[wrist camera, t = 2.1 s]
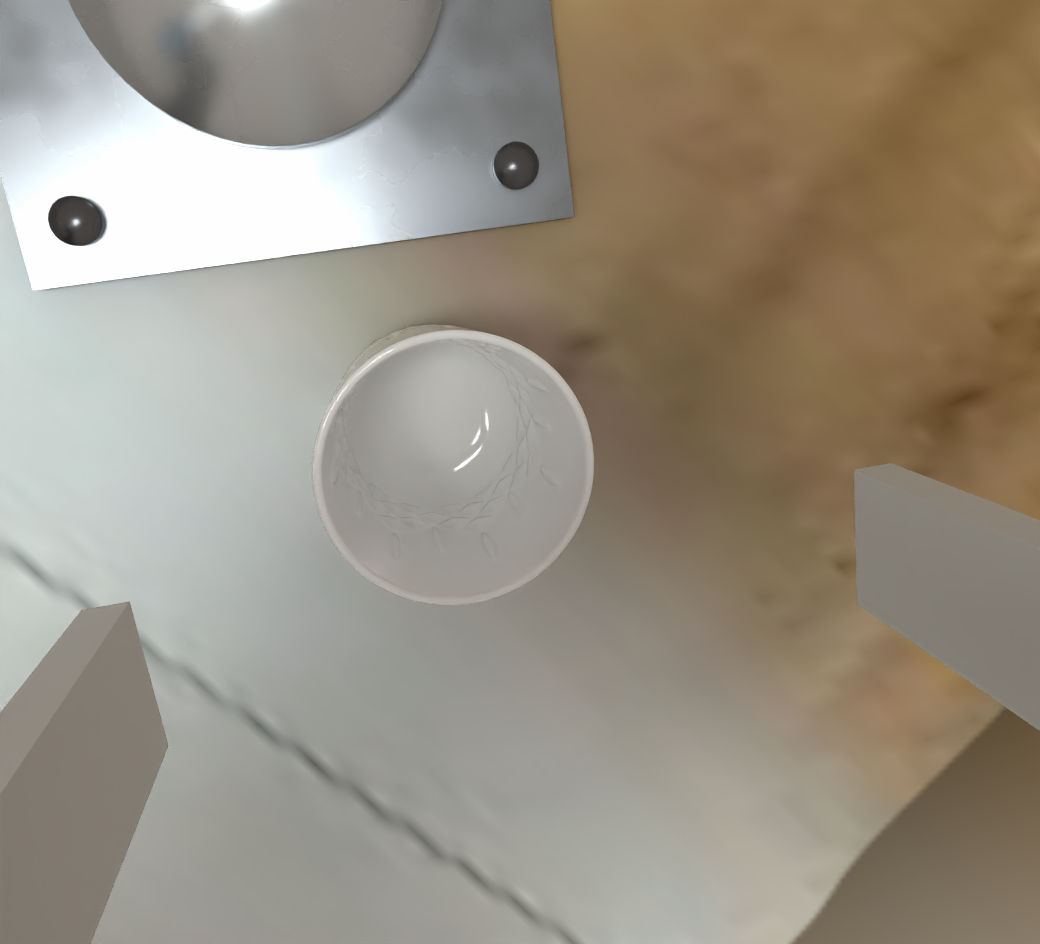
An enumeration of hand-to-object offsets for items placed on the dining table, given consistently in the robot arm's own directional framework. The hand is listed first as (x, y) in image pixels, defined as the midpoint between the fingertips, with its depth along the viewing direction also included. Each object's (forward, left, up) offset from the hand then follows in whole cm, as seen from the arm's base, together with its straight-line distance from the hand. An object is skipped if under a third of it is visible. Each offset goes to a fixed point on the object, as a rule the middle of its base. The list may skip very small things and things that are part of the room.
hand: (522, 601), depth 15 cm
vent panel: (-3, +16, -19) cm, 25 cm away
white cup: (0, 0, -19) cm, 19 cm away
